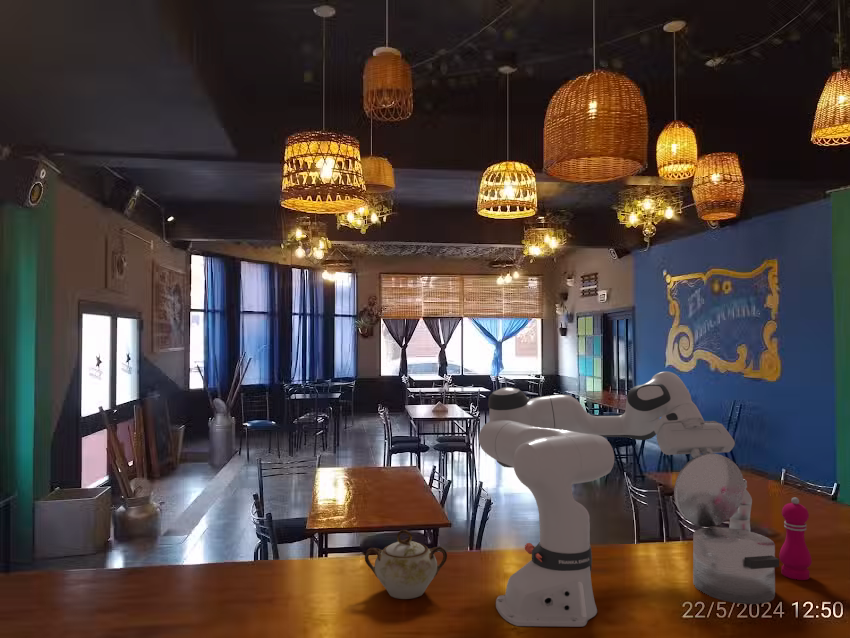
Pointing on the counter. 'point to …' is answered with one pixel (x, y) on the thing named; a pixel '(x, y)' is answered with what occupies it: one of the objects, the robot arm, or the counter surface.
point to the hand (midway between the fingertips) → (708, 465)
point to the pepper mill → (795, 542)
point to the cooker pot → (734, 565)
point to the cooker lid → (709, 489)
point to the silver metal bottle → (742, 512)
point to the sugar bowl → (405, 566)
